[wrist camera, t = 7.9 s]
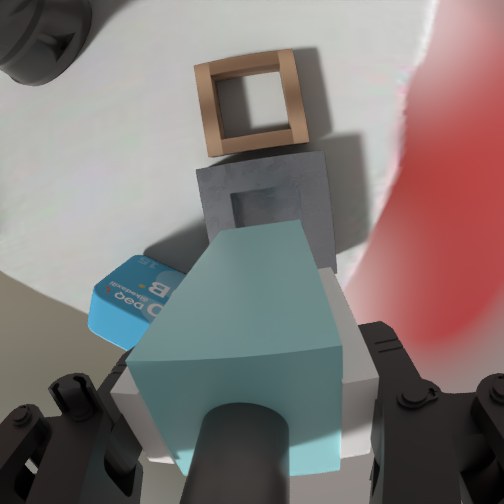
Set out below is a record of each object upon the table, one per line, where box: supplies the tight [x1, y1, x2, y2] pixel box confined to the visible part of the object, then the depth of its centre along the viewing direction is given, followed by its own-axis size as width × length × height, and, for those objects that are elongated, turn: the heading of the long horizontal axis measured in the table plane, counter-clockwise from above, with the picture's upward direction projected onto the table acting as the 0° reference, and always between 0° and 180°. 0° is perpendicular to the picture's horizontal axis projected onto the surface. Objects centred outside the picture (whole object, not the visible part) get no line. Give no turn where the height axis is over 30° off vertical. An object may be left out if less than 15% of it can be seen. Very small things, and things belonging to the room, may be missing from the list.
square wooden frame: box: [194, 49, 309, 157], centre depth 29 cm, size 10×10×3 cm
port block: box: [196, 150, 337, 274], centre depth 32 cm, size 12×12×5 cm
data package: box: [88, 255, 186, 351], centre depth 32 cm, size 12×4×12 cm, turn 66°
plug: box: [125, 220, 343, 504], centre depth 11 cm, size 4×4×15 cm
